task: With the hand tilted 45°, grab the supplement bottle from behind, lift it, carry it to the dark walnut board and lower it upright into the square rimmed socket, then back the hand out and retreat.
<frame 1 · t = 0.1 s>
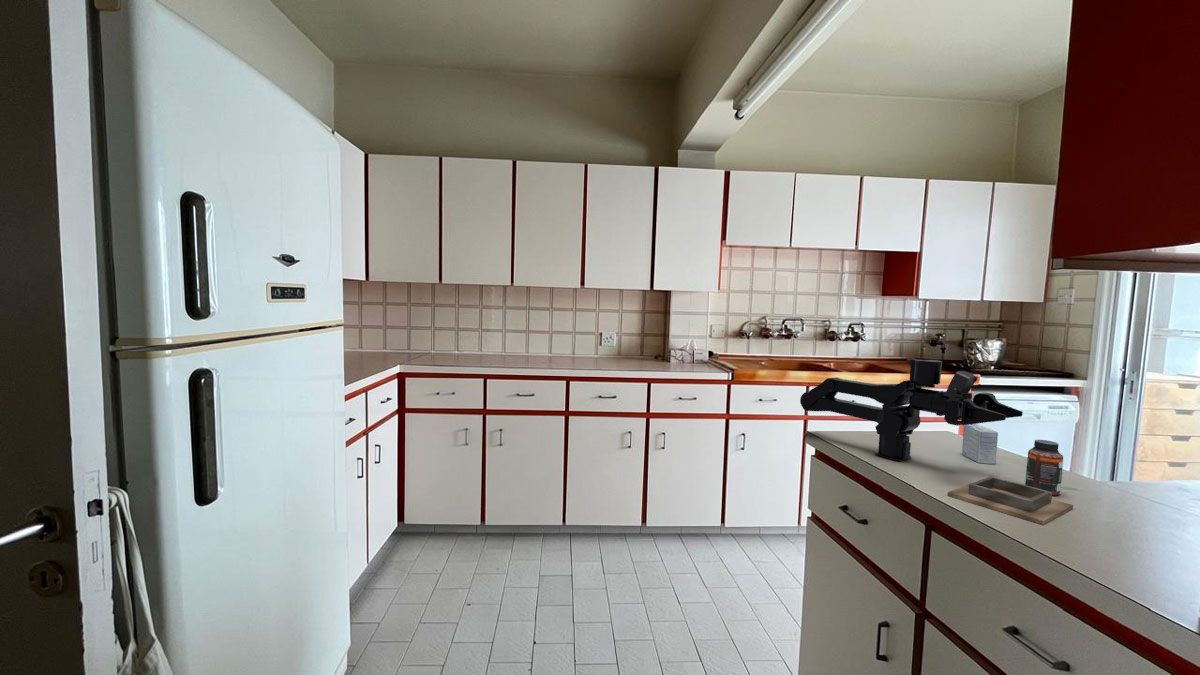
hand: (1014, 415, 112), 17 cm above the counter, tool horizontal, fingers open, 9 cm apart
socket board: (1008, 502, 104), on the counter
supplement bottle: (1042, 492, 112), on the counter
medicine box: (978, 460, 135), on the counter
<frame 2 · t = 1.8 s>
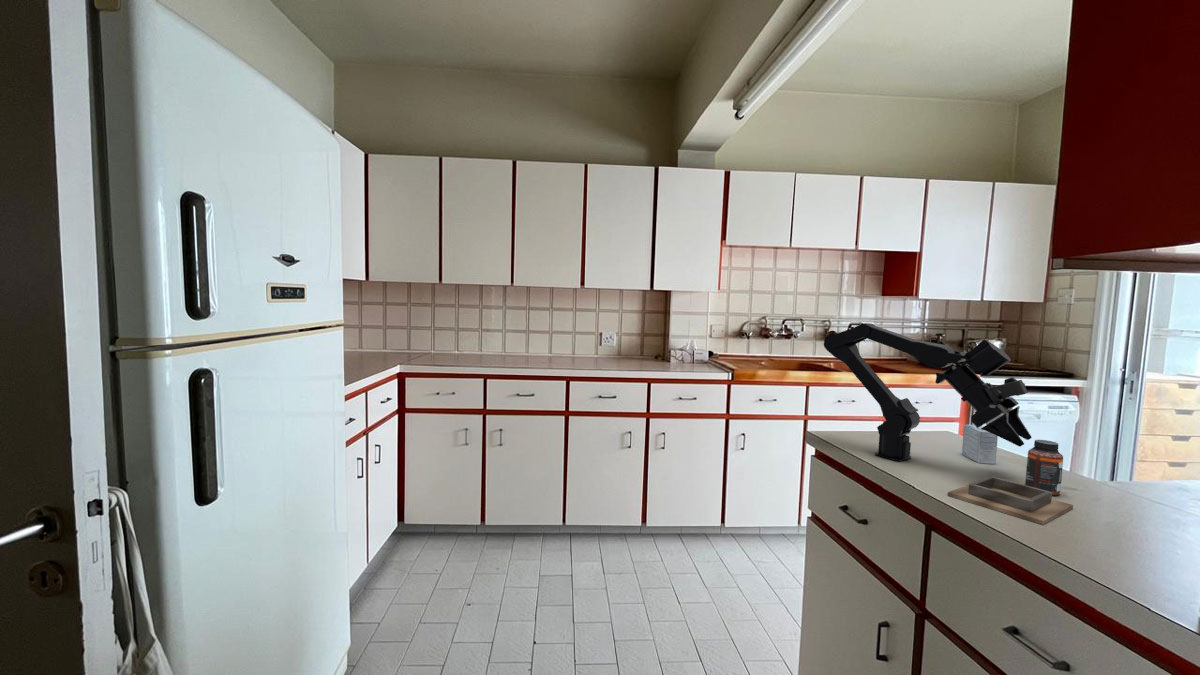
hand: (1026, 442, 113), 10 cm above the counter, tool tilted 45°, fingers open, 9 cm apart
nothing on the counter moved.
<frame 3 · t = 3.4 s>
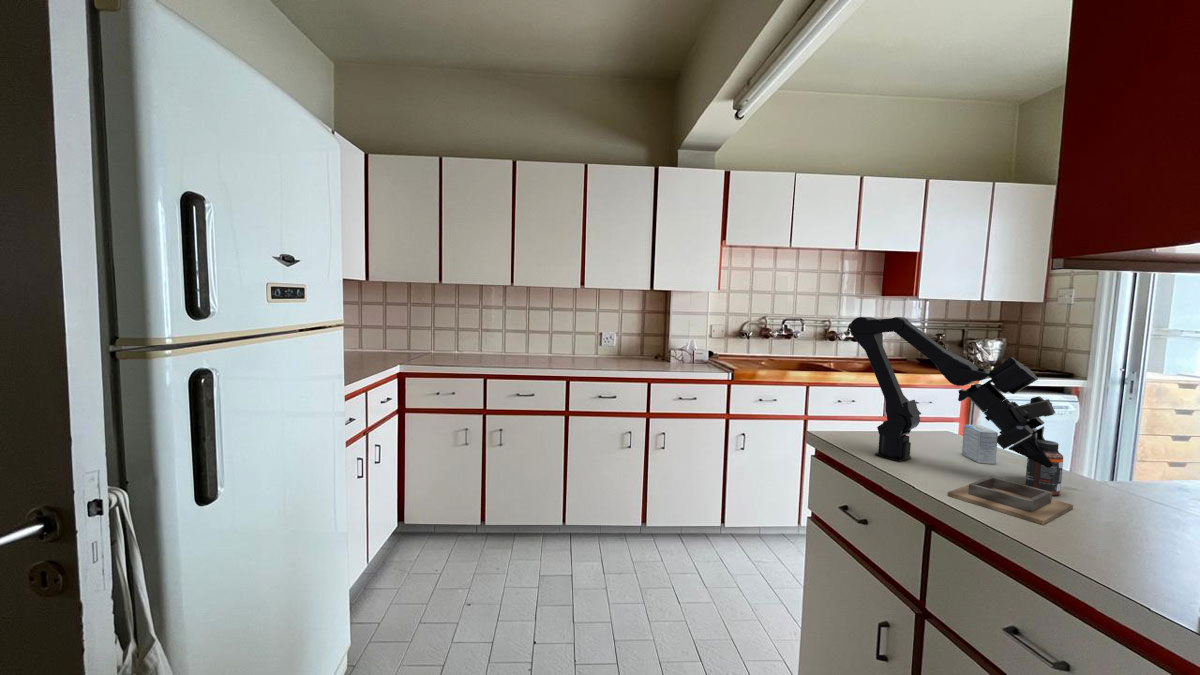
hand: (1053, 464, 110), 7 cm above the counter, tool tilted 45°, fingers closed on supplement bottle, 6 cm apart
supplement bottle: (1042, 492, 112), on the counter, touching gripper
everything else where it was.
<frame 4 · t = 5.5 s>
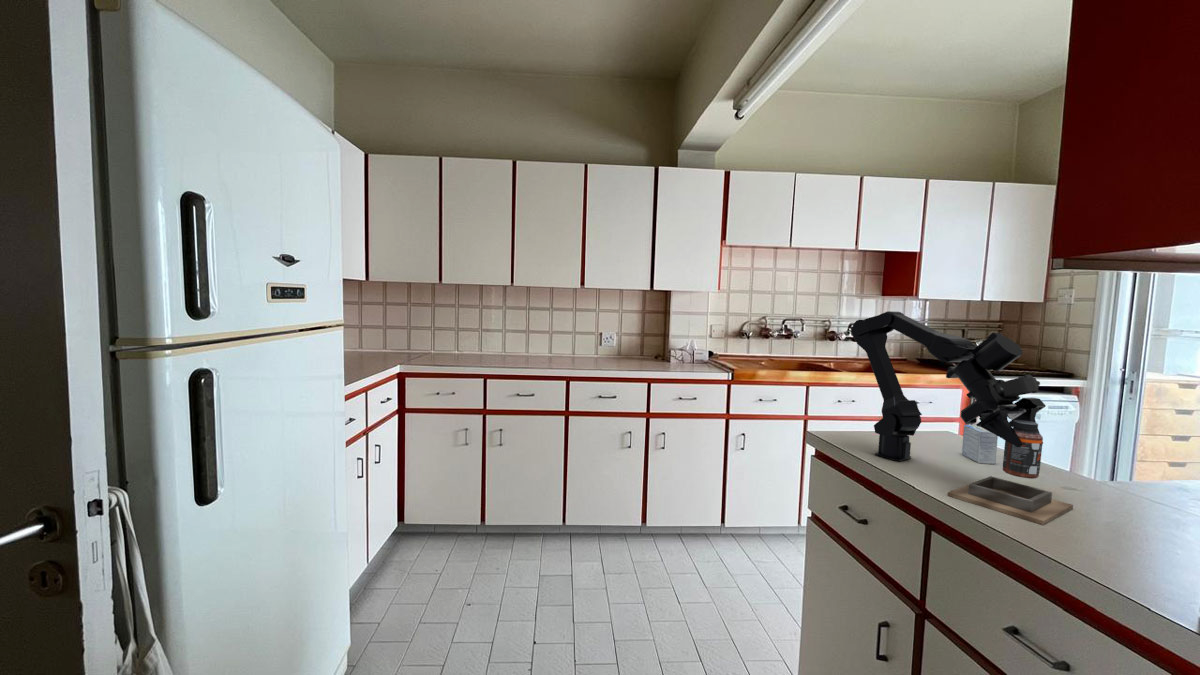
hand: (1030, 445, 103), 12 cm above the counter, tool tilted 45°, fingers closed on supplement bottle, 6 cm apart
supplement bottle: (1020, 475, 105), point 5 cm above the counter, touching gripper
everything else where it was.
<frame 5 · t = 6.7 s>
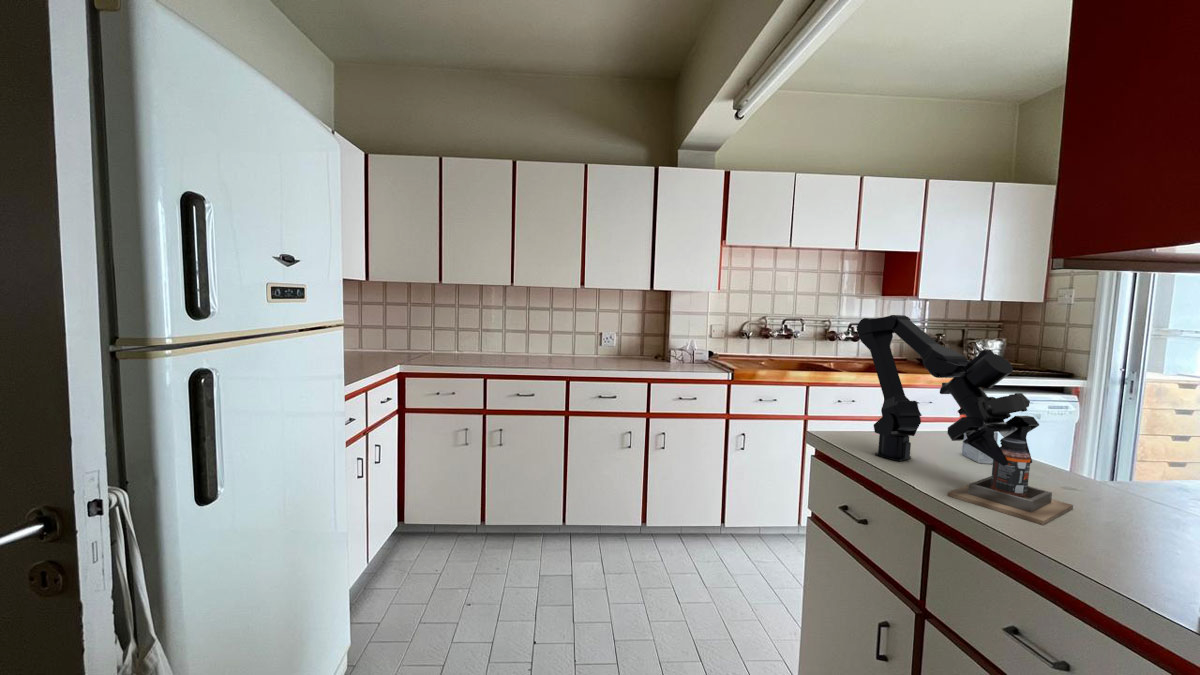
hand: (1018, 464, 103), 8 cm above the counter, tool tilted 45°, fingers closed on supplement bottle, 6 cm apart
supplement bottle: (1008, 494, 105), point 2 cm above the counter, touching gripper
everything else where it was.
when the fingers open (8 cm above the counter, at t = 7.6 s): supplement bottle stays where it is, resting on socket board.
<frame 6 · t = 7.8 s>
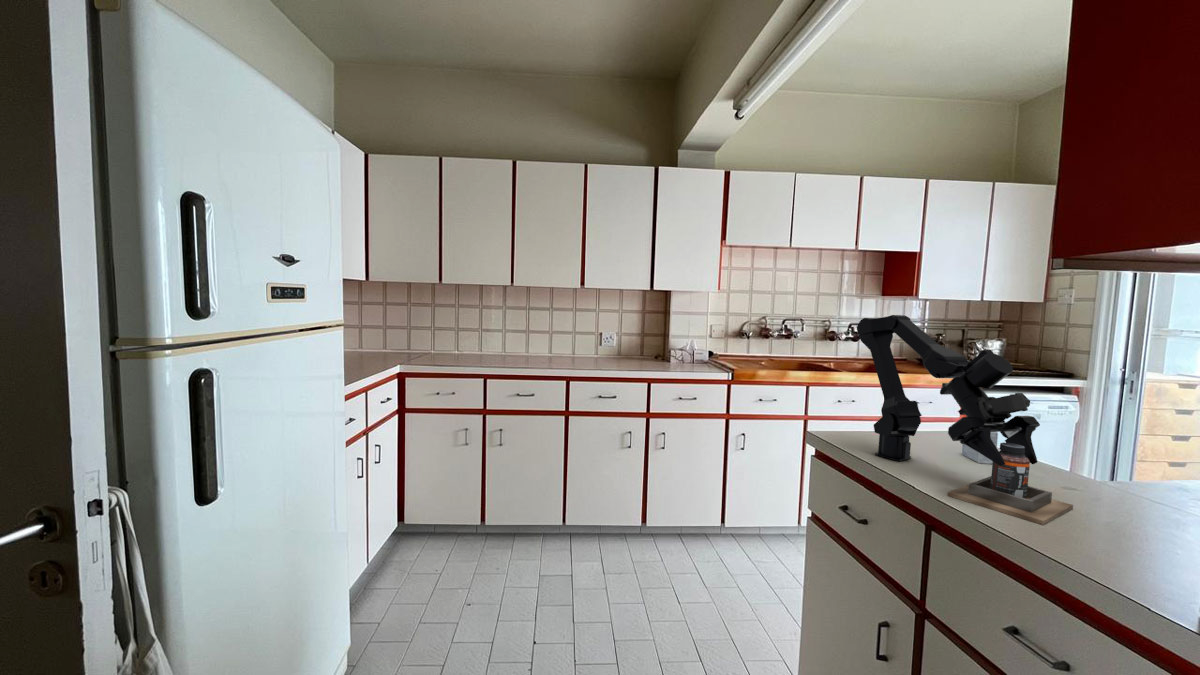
hand: (1019, 464, 103), 9 cm above the counter, tool tilted 45°, fingers open, 8 cm apart
supplement bottle: (1007, 498, 105), point 1 cm above the counter, touching socket board
everything else where it was.
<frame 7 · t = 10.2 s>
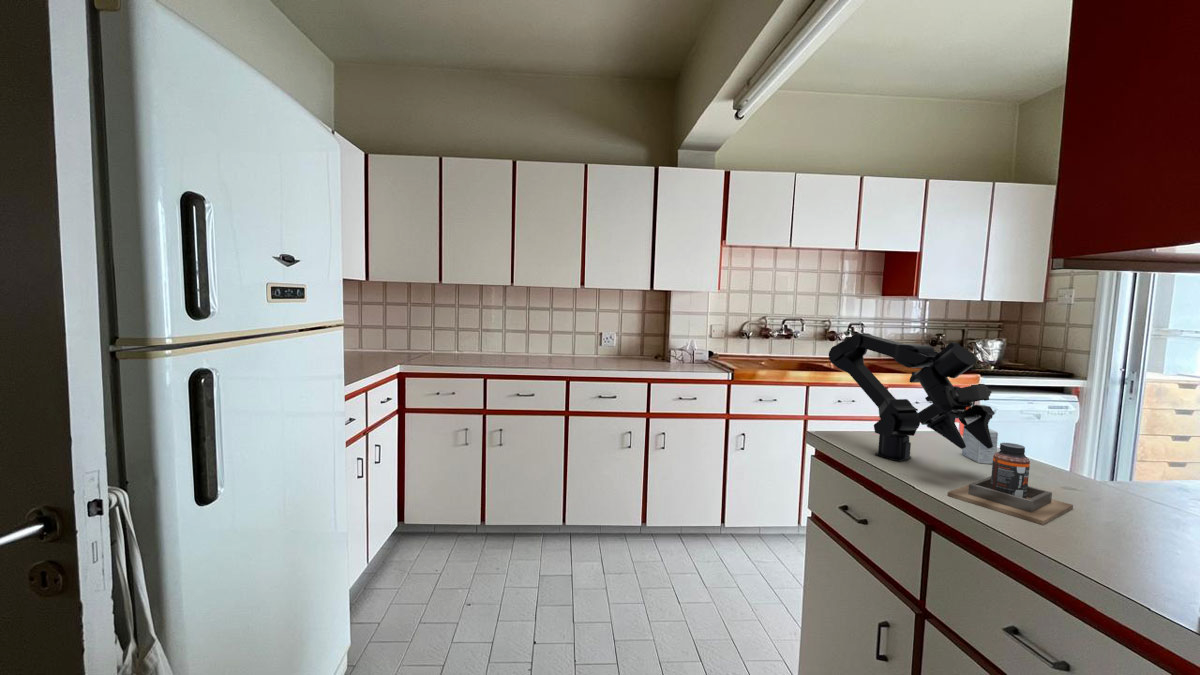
hand: (977, 448, 113), 9 cm above the counter, tool tilted 40°, fingers open, 9 cm apart
nothing on the counter moved.
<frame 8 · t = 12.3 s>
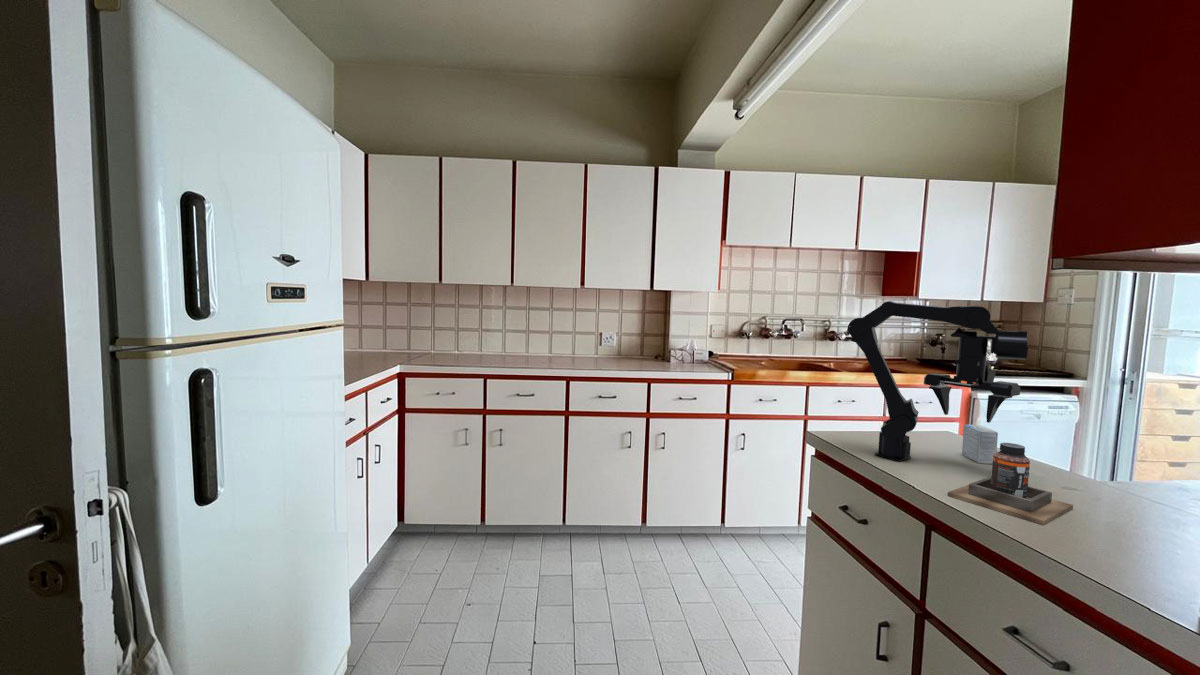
hand: (966, 418, 125), 13 cm above the counter, tool pointing down, fingers open, 9 cm apart
nothing on the counter moved.
at the end: supplement bottle 0.2 cm off-centre on the socket board, point 0.6 cm above the socket board's base; supplement bottle tilted 0°; the gripper is holding nothing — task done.
